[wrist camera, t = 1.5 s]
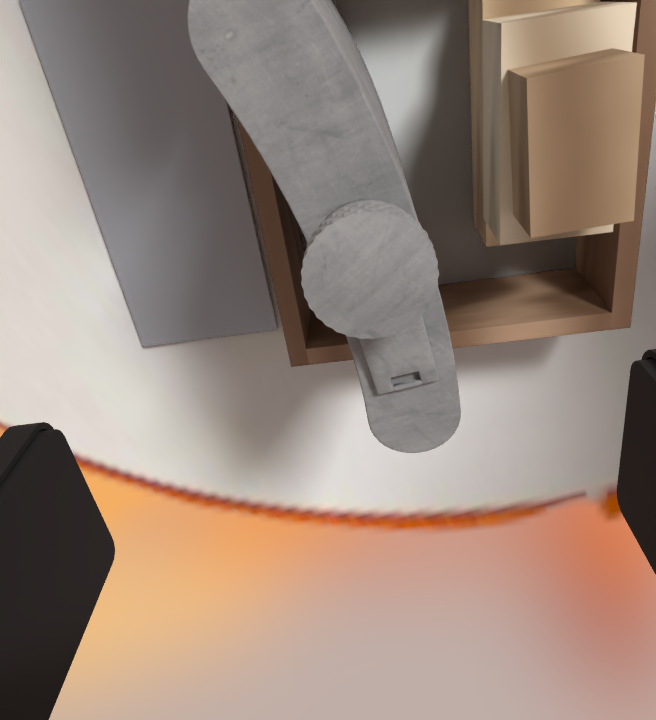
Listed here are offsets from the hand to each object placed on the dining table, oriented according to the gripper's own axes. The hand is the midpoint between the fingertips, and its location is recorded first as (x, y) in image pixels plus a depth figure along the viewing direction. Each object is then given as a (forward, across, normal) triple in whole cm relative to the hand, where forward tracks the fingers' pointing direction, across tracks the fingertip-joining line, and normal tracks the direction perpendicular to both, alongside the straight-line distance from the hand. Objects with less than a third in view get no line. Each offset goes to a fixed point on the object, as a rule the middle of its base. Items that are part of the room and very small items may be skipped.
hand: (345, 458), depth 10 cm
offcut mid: (+23, -9, 0) cm, 25 cm away
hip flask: (+27, -1, 0) cm, 27 cm away
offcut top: (+19, -9, 0) cm, 21 cm away
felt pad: (+27, +10, +1) cm, 29 cm away
